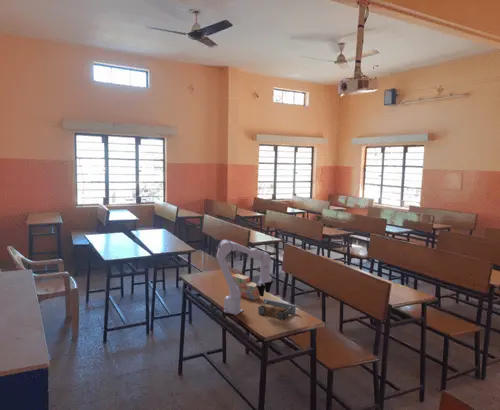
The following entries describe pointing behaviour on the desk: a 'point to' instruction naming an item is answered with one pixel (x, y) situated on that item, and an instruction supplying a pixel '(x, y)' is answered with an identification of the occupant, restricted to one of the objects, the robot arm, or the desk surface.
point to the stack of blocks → (246, 287)
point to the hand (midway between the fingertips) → (264, 294)
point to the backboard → (281, 305)
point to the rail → (272, 309)
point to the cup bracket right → (283, 314)
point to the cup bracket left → (261, 310)
